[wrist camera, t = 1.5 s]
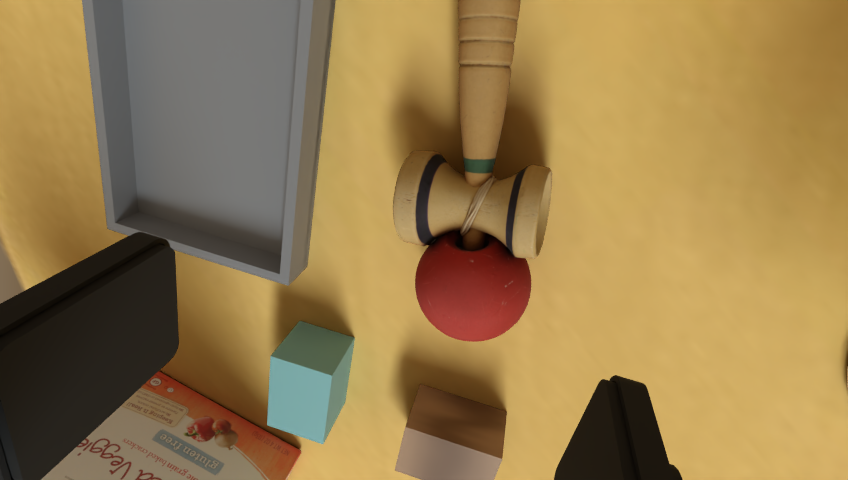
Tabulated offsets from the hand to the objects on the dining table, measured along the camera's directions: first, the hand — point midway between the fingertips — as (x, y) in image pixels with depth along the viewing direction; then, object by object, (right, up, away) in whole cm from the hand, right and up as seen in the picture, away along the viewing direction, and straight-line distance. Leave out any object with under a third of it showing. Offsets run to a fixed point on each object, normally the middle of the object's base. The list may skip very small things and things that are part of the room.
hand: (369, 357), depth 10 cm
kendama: (+4, +7, +15) cm, 17 cm away
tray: (-10, +13, +16) cm, 22 cm away
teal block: (-6, -6, +23) cm, 25 cm away
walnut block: (+3, -10, +23) cm, 25 cm away
